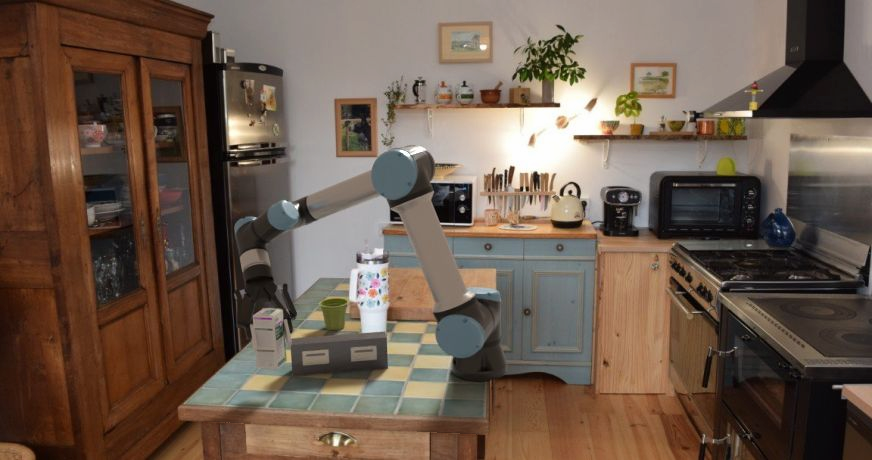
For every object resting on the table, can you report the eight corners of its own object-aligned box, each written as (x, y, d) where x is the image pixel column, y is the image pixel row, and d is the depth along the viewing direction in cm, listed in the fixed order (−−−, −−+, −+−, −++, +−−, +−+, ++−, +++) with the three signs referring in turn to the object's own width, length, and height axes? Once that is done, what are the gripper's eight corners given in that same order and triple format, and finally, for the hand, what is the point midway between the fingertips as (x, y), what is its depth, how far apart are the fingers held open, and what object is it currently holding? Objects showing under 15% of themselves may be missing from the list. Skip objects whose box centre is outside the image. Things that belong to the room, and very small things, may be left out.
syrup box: (277, 370, 171) (274, 315, 168) (255, 368, 172) (252, 314, 169) (286, 361, 177) (283, 308, 174) (265, 360, 178) (262, 307, 175)
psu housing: (386, 361, 194) (385, 331, 192) (388, 369, 188) (387, 338, 187) (293, 369, 190) (291, 338, 188) (292, 377, 184) (290, 345, 183)
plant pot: (335, 334, 216) (333, 308, 215) (314, 328, 222) (313, 303, 220) (355, 326, 224) (354, 301, 222) (335, 321, 229) (333, 296, 227)
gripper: (293, 272, 188) (311, 346, 177) (216, 282, 180) (229, 360, 169) (297, 258, 183) (315, 334, 172) (217, 267, 174) (231, 347, 163)
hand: (272, 347), depth 170 cm, fingers closed on syrup box, 8 cm apart
